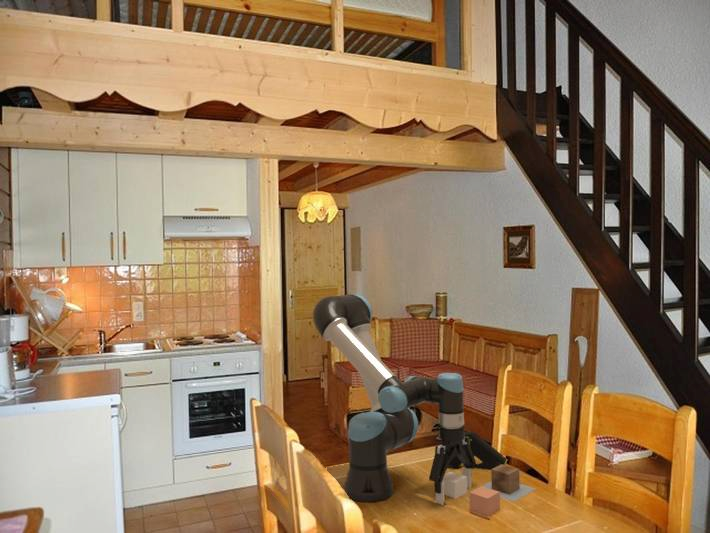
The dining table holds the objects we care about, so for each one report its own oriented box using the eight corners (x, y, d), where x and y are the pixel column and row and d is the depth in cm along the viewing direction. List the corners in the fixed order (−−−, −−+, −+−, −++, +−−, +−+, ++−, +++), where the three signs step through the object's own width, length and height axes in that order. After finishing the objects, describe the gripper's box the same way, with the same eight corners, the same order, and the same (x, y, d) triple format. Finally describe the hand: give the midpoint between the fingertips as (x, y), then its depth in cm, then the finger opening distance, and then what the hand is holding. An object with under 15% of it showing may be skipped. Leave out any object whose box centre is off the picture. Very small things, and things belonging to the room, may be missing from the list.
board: (475, 493, 168) (475, 489, 168) (498, 480, 177) (498, 477, 177) (513, 506, 158) (513, 501, 158) (536, 492, 167) (536, 488, 167)
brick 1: (469, 513, 154) (469, 492, 154) (481, 506, 158) (481, 486, 158) (488, 520, 150) (487, 498, 150) (500, 513, 154) (499, 491, 154)
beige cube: (439, 497, 166) (438, 477, 166) (451, 491, 170) (450, 471, 170) (455, 503, 161) (455, 482, 161) (467, 496, 166) (466, 476, 166)
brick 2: (491, 489, 168) (491, 469, 168) (502, 483, 172) (501, 464, 172) (509, 494, 163) (508, 474, 163) (519, 488, 167) (519, 468, 167)
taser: (441, 455, 194) (465, 423, 190) (483, 490, 188) (508, 458, 185) (438, 459, 190) (463, 426, 186) (480, 495, 184) (507, 462, 181)
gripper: (436, 437, 154) (438, 513, 154) (485, 418, 172) (487, 487, 171) (415, 432, 160) (417, 505, 160) (465, 414, 177) (467, 480, 177)
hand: (454, 496), depth 165 cm, fingers open, 13 cm apart
